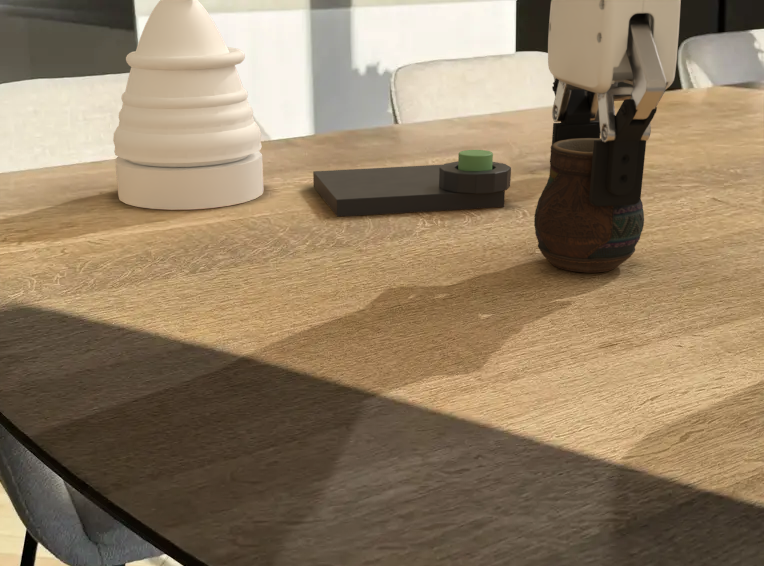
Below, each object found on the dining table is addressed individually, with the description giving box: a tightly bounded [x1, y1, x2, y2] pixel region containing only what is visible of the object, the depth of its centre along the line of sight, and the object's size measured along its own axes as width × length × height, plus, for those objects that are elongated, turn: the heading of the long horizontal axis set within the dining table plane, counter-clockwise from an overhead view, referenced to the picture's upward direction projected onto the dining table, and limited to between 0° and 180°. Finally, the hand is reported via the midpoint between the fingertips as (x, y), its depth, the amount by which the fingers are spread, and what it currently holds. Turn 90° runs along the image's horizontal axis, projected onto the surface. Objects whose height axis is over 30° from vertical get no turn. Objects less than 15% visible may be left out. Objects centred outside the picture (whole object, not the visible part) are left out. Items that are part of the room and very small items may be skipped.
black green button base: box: [312, 161, 512, 218], centre depth 95 cm, size 15×13×3 cm
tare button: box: [457, 149, 494, 171], centre depth 92 cm, size 3×3×2 cm
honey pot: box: [112, 0, 265, 211], centre depth 95 cm, size 13×13×18 cm
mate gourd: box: [533, 137, 645, 274], centre depth 74 cm, size 7×8×10 cm
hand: (592, 190), depth 73 cm, fingers closed on mate gourd, 6 cm apart
